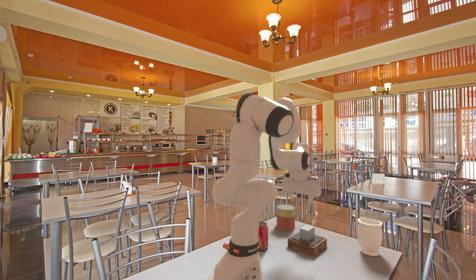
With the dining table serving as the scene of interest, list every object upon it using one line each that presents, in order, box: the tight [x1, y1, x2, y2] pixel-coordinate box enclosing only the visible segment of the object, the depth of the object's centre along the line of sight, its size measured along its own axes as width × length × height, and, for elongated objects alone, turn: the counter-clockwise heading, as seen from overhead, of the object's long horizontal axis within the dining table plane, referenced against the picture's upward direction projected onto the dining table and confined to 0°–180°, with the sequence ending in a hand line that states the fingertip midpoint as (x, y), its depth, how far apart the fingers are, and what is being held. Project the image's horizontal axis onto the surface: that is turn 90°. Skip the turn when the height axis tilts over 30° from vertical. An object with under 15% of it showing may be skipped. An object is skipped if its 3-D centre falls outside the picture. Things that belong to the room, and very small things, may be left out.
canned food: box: [276, 204, 296, 231], centre depth 140 cm, size 11×11×12 cm
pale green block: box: [299, 224, 316, 241], centre depth 114 cm, size 4×7×5 cm, turn 136°
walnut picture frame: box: [287, 231, 328, 257], centre depth 114 cm, size 14×14×4 cm
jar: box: [356, 217, 383, 257], centre depth 109 cm, size 11×10×15 cm
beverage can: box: [258, 220, 269, 251], centre depth 113 cm, size 8×8×12 cm
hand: (300, 202), depth 114 cm, fingers open, 8 cm apart
